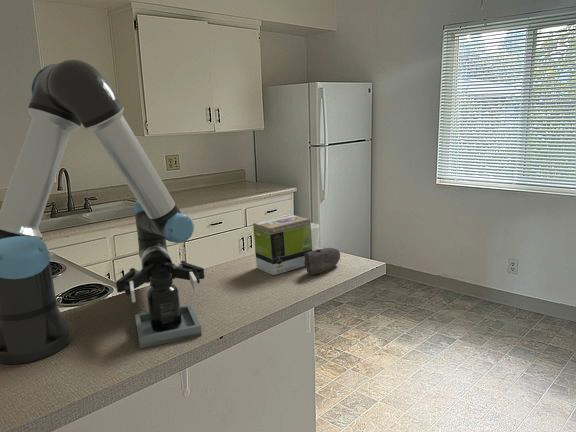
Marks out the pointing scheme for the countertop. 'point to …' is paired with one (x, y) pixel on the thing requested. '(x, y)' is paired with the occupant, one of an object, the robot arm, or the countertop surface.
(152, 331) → the tray
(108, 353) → the countertop surface
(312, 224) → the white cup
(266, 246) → the tea box
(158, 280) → the supplement bottle
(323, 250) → the perforated stone tool
